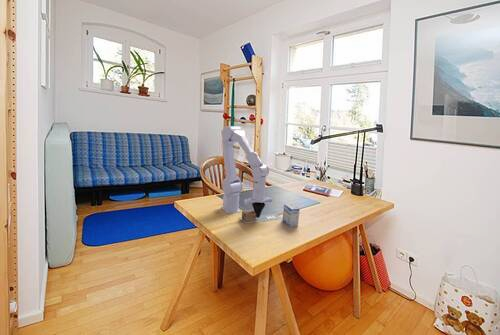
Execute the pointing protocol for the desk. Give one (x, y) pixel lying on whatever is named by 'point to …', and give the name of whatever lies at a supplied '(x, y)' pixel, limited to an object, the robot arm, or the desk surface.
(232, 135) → the robot arm
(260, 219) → the board
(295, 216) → the medicine box
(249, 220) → the walnut block
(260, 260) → the desk surface
